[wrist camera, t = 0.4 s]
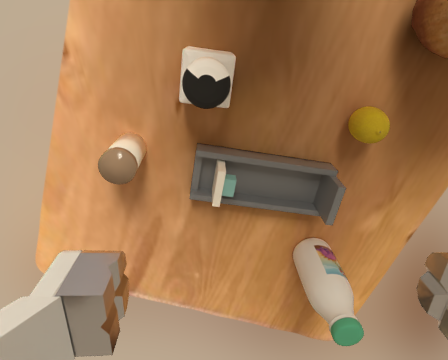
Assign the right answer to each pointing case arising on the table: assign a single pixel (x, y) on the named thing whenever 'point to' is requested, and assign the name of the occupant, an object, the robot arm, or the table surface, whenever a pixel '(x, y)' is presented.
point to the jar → (122, 158)
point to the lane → (270, 181)
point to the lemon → (369, 125)
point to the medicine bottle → (206, 77)
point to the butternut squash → (432, 25)
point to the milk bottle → (328, 289)
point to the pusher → (222, 183)
